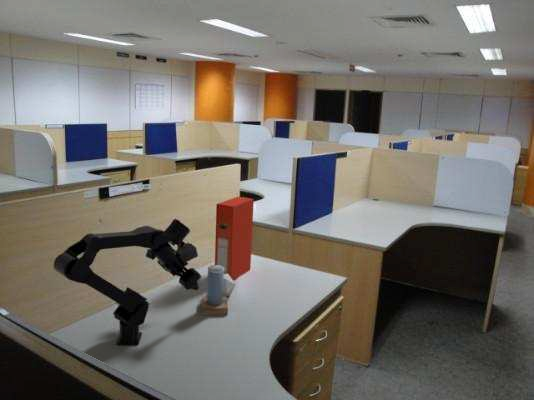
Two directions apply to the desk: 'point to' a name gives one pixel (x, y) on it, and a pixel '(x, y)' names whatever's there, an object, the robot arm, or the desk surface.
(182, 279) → the robot arm
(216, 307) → the base slab
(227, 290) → the die
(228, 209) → the file binder
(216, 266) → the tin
